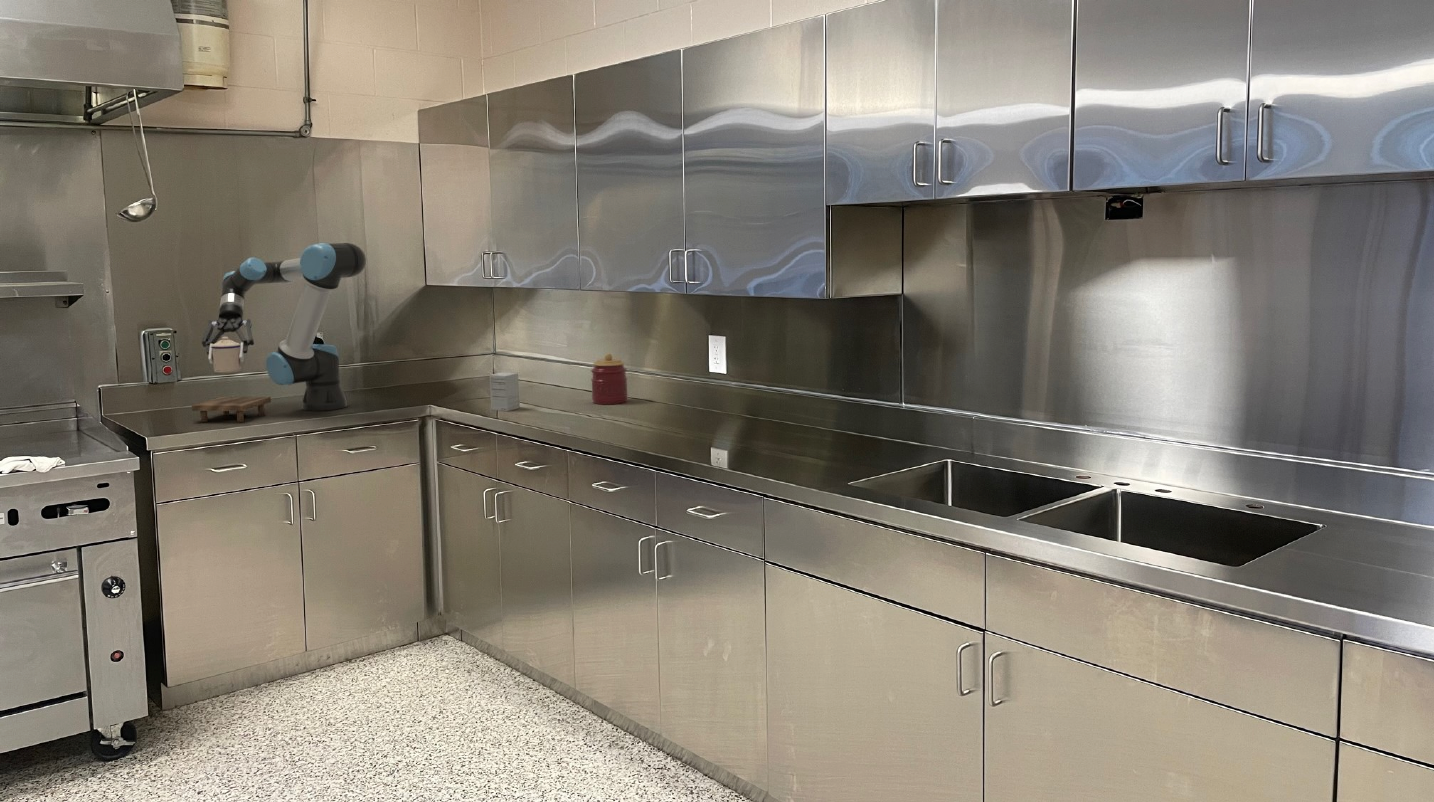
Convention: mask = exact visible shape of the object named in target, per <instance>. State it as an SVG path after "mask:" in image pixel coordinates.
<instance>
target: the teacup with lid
mask: <svg viewBox="0 0 1434 802" xmlns="http://www.w3.org/2000/svg"><path fill="white" fill-rule="evenodd" d="M240 346H241V343H239V342H236V341H234V340H232V339H229V337H228V336H221V339H220V340H217V342H216V343H215V344H213V345H212V347H211V348H212V354H213V371H214V373H223V374H225V373H236V372H237V373H238V372H242V369H243V368H242V362H241V361H240V358H239V355H240Z"/></svg>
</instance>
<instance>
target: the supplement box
mask: <svg viewBox="0 0 1434 802" xmlns="http://www.w3.org/2000/svg"><path fill="white" fill-rule="evenodd" d="M519 387H520V386H519V373H517V372H502V371H501V372H498V373H493V374H489V394H490V409H491V411H497V412H498V411H499V412H510V411H513V410H517V409H520V407H521V405H520V388H519Z"/></svg>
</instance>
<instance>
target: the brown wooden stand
mask: <svg viewBox="0 0 1434 802" xmlns="http://www.w3.org/2000/svg"><path fill="white" fill-rule="evenodd" d="M271 398H272V397H271V396H220V397H218V398H217V397H216V398H213V399H210V400H206V401H203V402H199V403H195V404H191V411H192V412H195V411H196V412H197V411H199V412H200V421H201V423H206V422H209V420H208V419H209V418H208V412H211V411H212V412H213V411H215V412H216V411H219V412H223V413H222V415H223V416H230V415H231V414H230V412H233V411H234V412H236V420H237V423H244V422H245V418H244V411H247V410H249V409H253V408H257V413H258V414H257V415H258V416H265V405H266V404H269V403H272V399H271Z"/></svg>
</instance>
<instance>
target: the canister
mask: <svg viewBox="0 0 1434 802" xmlns="http://www.w3.org/2000/svg"><path fill="white" fill-rule="evenodd" d="M592 365H593V368H591V369H590V372H591V373H592V378H591V379H590V380H591V381H590V382H591V392H592V393H591V394H592V395H591V400H592V403H594V404H597V405H619V404H624V403H626V402H628V398H629V396H628V395H629V394H628V377H627V374H626V372H627V370H628V369H627V368H626V367H625V366H624V365H625V362H624V361H623V360H621V359H619V358H613V355H612V354H611V353H606V354H605V356H604V358H601V359H597V360H595V362H593V363H592Z"/></svg>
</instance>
